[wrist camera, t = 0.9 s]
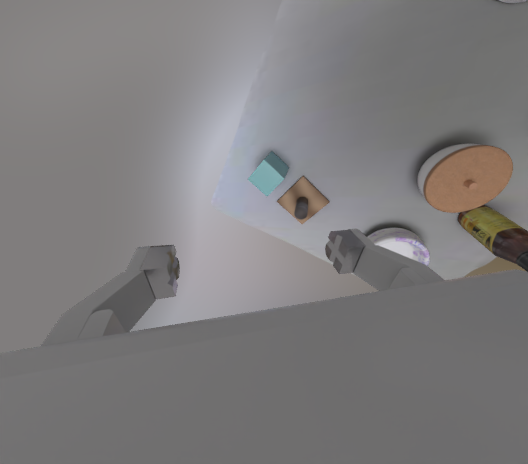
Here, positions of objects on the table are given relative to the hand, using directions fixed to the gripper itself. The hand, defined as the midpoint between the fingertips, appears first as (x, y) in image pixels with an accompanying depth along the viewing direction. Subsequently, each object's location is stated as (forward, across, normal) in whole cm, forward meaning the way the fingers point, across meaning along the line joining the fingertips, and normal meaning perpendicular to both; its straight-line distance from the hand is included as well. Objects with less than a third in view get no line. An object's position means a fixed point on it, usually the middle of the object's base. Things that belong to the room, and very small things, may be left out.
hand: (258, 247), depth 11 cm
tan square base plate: (+39, -21, +17) cm, 47 cm away
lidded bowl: (+27, -47, +5) cm, 54 cm away
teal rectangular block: (+43, -13, +9) cm, 46 cm away
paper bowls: (+28, -44, +27) cm, 59 cm away
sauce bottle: (+22, -58, +15) cm, 63 cm away
